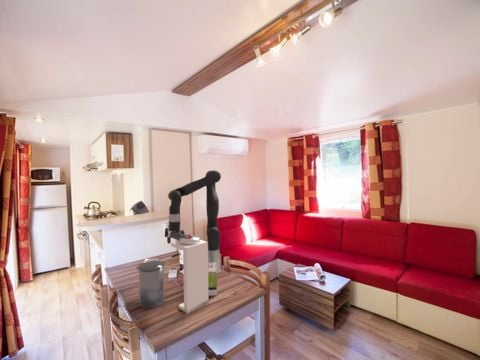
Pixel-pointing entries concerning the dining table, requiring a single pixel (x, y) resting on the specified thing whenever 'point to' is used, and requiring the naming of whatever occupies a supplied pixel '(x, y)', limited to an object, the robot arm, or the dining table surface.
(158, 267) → the grey glass jar
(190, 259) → the white bookcase side
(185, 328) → the dining table surface
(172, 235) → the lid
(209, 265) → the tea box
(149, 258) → the frying pan
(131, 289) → the dining table surface
